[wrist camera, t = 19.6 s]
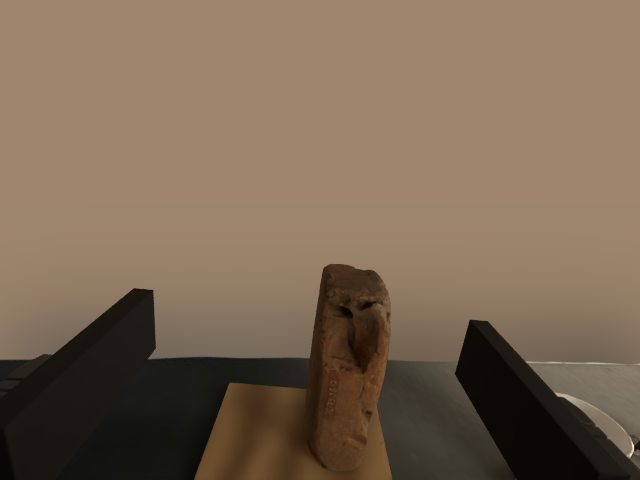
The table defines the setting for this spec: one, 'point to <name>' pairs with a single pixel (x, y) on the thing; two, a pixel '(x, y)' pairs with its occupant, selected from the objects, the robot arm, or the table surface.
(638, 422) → the table surface
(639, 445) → the clip-on lamp
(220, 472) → the cork mat
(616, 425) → the white cup
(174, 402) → the table surface
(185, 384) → the table surface
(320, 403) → the block
